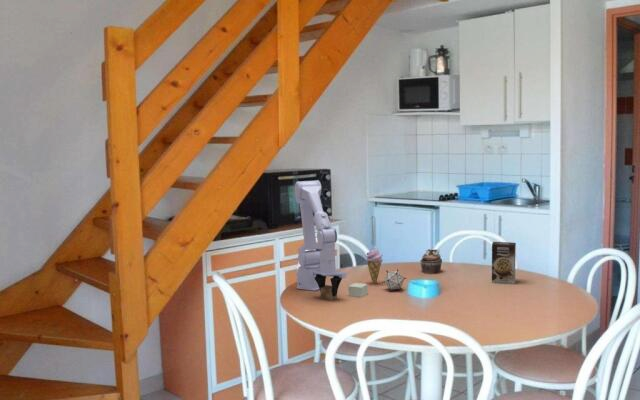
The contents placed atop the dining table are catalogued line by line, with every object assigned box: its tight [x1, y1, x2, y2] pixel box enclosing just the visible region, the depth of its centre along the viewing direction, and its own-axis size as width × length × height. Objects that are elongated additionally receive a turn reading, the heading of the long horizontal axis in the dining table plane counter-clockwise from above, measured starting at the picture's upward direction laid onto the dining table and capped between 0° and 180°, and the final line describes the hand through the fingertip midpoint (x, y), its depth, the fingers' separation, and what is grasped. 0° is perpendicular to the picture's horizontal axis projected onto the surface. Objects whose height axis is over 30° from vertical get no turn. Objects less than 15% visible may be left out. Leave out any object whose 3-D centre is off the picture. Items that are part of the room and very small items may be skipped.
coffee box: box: [491, 241, 517, 285], centre depth 236 cm, size 9×6×16 cm
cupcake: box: [419, 248, 443, 275], centre depth 258 cm, size 10×10×10 cm
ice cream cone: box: [366, 247, 383, 285], centre depth 240 cm, size 7×6×15 cm
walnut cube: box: [320, 284, 338, 301], centre depth 221 cm, size 4×4×4 cm
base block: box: [347, 282, 369, 298], centre depth 225 cm, size 6×6×4 cm
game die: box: [381, 268, 407, 292], centre depth 230 cm, size 9×8×10 cm
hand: (328, 294), depth 221 cm, fingers closed on walnut cube, 4 cm apart
